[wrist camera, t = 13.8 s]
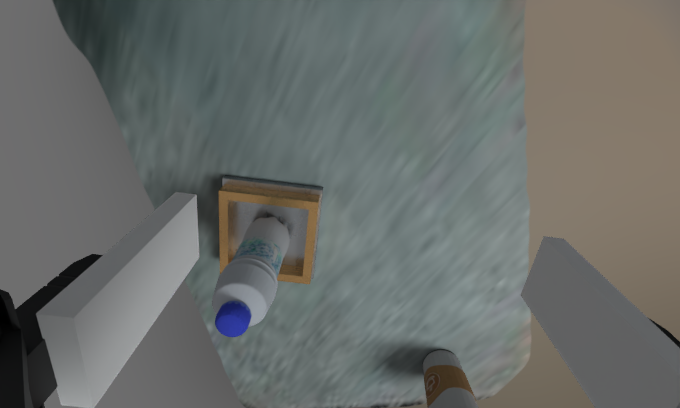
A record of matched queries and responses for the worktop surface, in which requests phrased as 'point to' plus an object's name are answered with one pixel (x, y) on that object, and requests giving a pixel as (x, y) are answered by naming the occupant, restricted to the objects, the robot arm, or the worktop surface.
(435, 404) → the coffee cup
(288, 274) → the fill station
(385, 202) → the worktop surface
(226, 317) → the bottle
